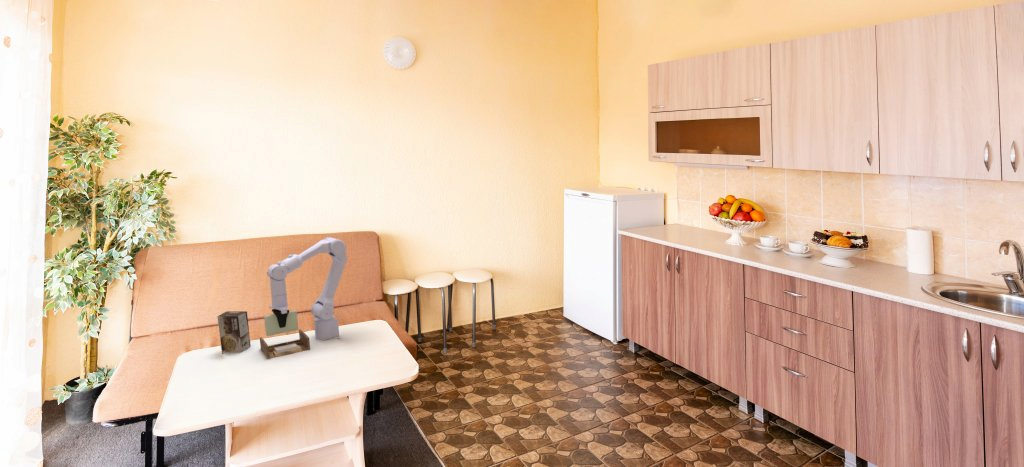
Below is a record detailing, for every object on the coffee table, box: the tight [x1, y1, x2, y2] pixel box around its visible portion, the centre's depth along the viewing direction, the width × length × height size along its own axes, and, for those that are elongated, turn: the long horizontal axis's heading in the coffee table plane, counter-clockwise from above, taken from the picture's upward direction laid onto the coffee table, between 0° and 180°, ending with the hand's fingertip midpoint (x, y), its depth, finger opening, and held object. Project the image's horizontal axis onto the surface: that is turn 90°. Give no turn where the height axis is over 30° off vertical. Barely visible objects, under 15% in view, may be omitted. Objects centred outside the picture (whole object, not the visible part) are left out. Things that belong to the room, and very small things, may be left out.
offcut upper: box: [274, 344, 298, 353], centre depth 211 cm, size 8×4×1 cm, turn 125°
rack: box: [259, 328, 311, 360], centre depth 214 cm, size 16×13×6 cm
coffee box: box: [217, 310, 252, 355], centre depth 215 cm, size 9×6×16 cm
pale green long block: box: [263, 309, 299, 337], centre depth 215 cm, size 12×2×8 cm, turn 125°
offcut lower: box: [273, 345, 303, 358], centre depth 211 cm, size 10×4×1 cm, turn 125°
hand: (281, 326), depth 216 cm, fingers closed on pale green long block, 2 cm apart
